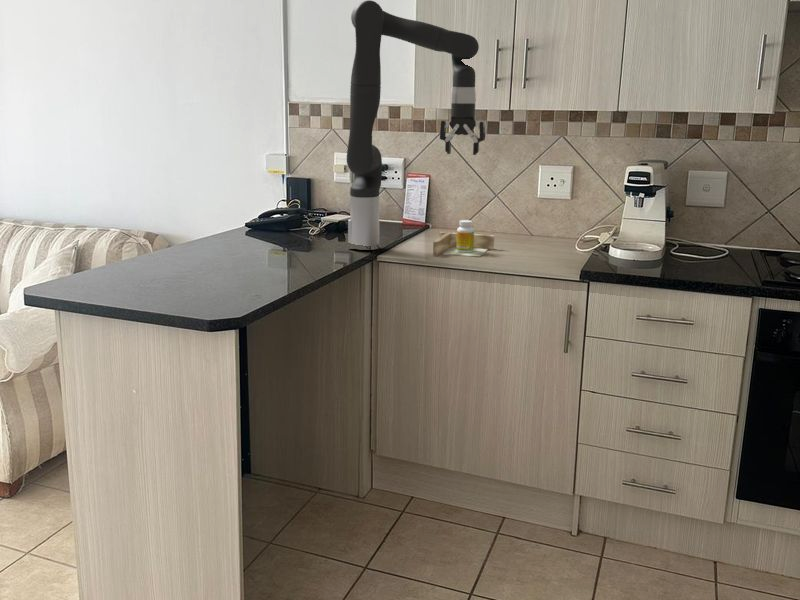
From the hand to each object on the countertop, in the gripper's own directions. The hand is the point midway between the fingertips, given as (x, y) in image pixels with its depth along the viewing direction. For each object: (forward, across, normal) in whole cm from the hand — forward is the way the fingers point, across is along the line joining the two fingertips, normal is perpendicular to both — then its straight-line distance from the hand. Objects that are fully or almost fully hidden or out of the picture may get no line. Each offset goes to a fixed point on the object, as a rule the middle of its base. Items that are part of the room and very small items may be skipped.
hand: (461, 154), depth 254 cm
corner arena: (+30, +3, -8) cm, 31 cm away
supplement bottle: (+30, +4, -8) cm, 31 cm away
